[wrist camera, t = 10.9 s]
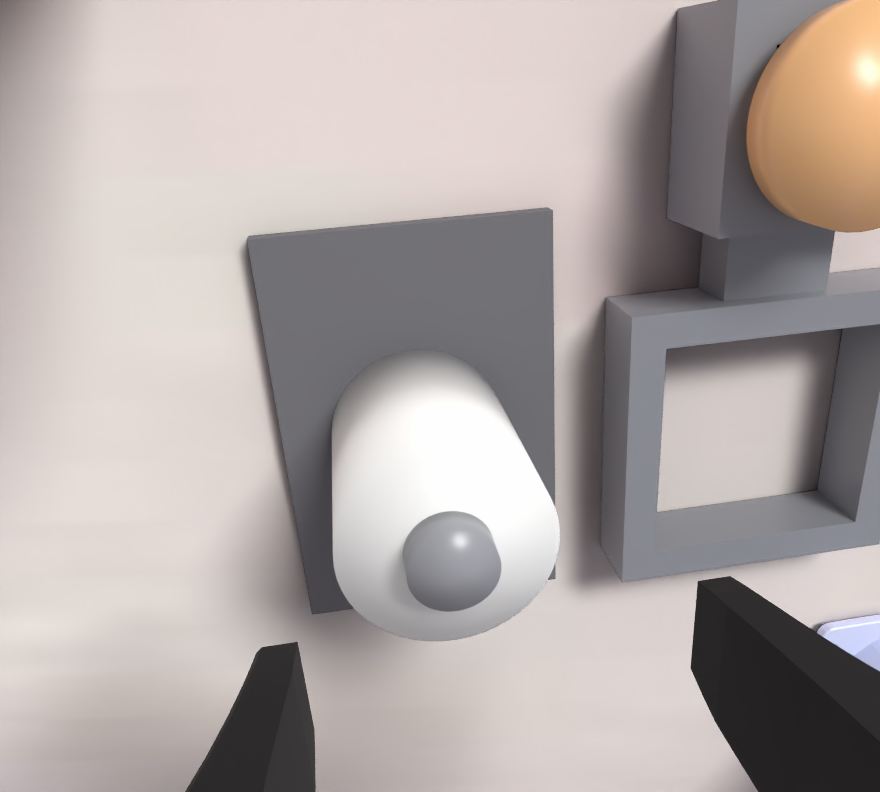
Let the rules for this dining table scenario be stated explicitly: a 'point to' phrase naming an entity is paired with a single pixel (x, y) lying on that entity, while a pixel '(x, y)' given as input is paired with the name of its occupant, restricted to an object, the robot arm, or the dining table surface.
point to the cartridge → (435, 501)
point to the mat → (401, 336)
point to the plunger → (822, 120)
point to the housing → (737, 323)
